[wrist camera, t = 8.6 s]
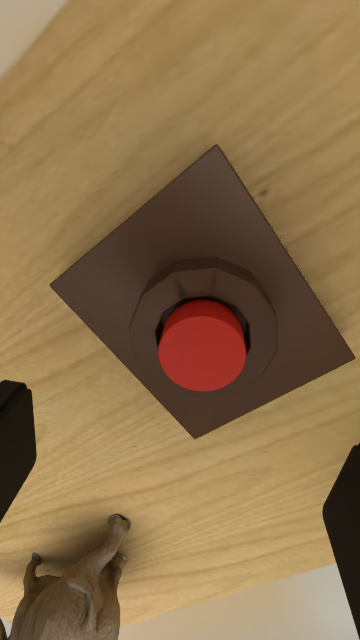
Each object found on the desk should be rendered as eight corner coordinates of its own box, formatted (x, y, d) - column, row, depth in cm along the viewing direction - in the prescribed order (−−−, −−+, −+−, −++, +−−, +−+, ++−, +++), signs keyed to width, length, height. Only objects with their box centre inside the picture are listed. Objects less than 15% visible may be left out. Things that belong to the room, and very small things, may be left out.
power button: (147, 327, 15) (140, 346, 14) (212, 283, 14) (212, 299, 12) (194, 381, 16) (192, 404, 15) (258, 344, 15) (263, 366, 14)
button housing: (66, 271, 18) (30, 299, 15) (216, 145, 15) (217, 140, 11) (196, 414, 22) (193, 464, 18) (341, 337, 19) (372, 380, 15)
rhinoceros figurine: (197, 588, 26) (36, 883, 18) (120, 531, 37) (-2, 695, 28) (138, 522, 24) (-73, 813, 16) (75, 482, 35) (-69, 642, 27)
